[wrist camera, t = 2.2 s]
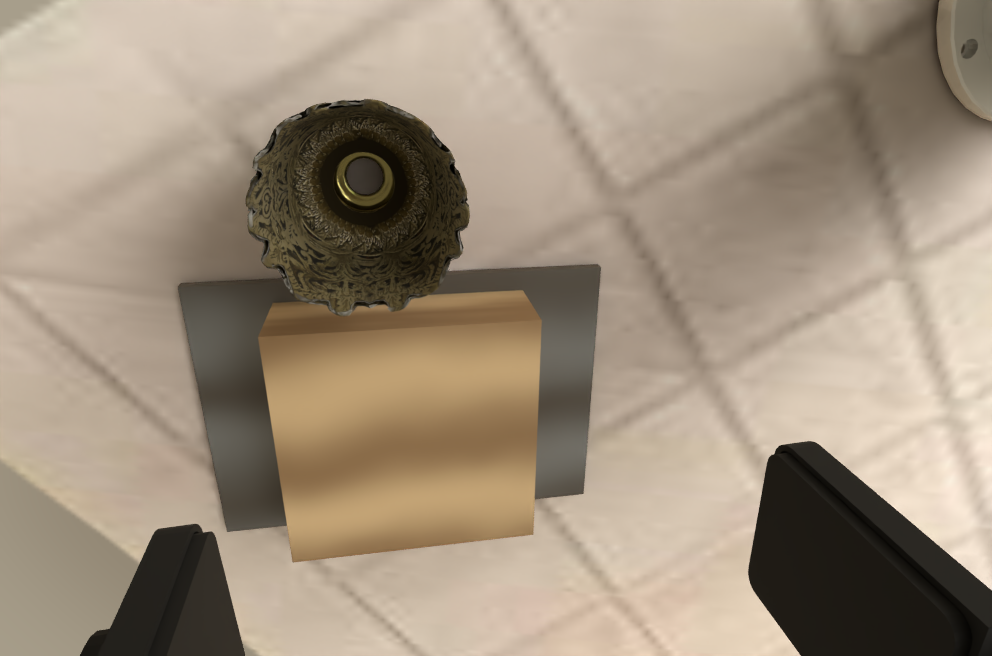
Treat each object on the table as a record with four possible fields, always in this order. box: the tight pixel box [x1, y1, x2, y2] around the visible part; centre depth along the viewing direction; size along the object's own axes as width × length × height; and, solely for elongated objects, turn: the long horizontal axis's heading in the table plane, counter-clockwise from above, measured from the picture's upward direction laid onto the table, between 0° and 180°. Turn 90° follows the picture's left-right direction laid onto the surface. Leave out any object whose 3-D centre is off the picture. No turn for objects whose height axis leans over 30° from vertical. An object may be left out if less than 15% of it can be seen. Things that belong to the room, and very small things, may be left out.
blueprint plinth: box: [178, 265, 601, 562], centre depth 31 cm, size 14×20×4 cm
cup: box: [246, 99, 470, 316], centre depth 25 cm, size 8×7×8 cm
